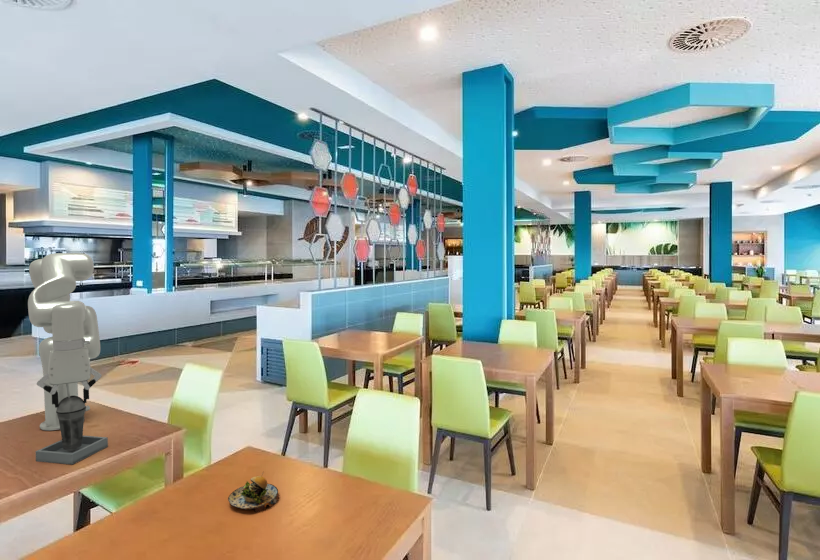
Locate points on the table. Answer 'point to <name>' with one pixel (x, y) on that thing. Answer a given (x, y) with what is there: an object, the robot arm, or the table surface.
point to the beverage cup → (71, 420)
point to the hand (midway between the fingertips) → (71, 403)
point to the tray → (71, 451)
